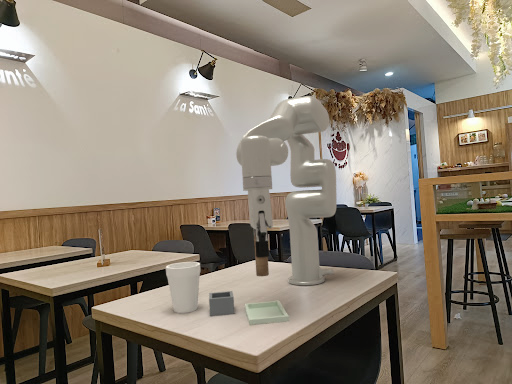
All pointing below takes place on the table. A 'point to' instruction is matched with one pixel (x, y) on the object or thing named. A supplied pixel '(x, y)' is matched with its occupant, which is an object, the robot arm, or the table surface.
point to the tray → (265, 312)
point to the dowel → (261, 264)
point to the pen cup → (221, 303)
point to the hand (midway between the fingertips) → (261, 255)
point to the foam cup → (184, 285)
